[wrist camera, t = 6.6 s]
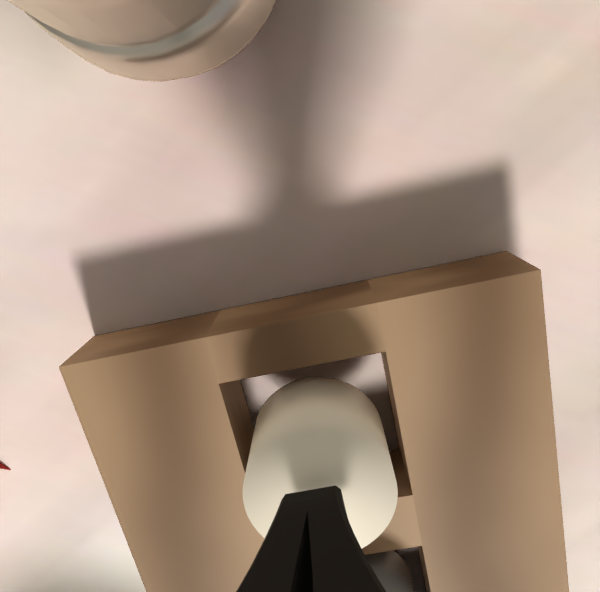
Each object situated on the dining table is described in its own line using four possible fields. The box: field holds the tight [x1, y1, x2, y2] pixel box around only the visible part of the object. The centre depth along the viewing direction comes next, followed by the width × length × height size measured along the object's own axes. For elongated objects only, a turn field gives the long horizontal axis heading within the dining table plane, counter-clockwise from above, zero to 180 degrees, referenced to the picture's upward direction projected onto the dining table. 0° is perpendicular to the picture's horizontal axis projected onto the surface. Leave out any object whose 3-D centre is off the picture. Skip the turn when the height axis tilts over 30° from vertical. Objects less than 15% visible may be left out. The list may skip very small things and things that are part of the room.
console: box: [59, 251, 569, 592], centre depth 18 cm, size 14×22×2 cm, turn 12°
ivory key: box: [242, 377, 398, 549], centre depth 14 cm, size 4×4×3 cm
